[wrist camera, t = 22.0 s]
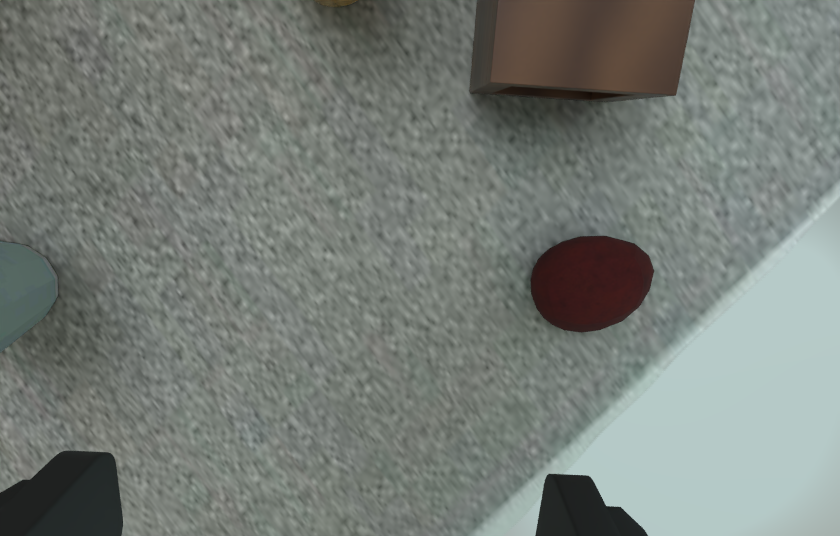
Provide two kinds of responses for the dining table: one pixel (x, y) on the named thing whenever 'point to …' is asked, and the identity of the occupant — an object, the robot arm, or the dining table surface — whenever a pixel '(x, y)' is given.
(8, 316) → the disposable coffee cup
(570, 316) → the potato
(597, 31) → the shelf
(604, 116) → the dining table surface
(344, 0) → the tumbler
